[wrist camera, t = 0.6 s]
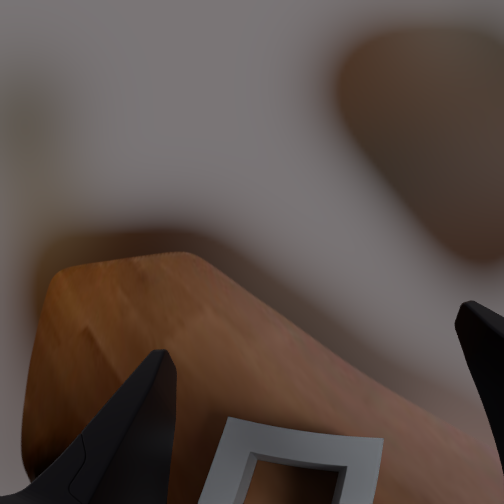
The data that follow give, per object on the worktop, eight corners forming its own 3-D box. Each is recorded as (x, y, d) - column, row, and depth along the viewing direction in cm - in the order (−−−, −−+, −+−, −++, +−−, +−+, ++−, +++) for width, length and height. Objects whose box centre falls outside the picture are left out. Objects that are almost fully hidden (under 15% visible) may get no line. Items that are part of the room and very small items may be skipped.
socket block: (340, 567, 10) (350, 579, 7) (199, 541, 13) (181, 547, 10) (369, 449, 17) (383, 438, 14) (238, 430, 20) (228, 416, 17)
